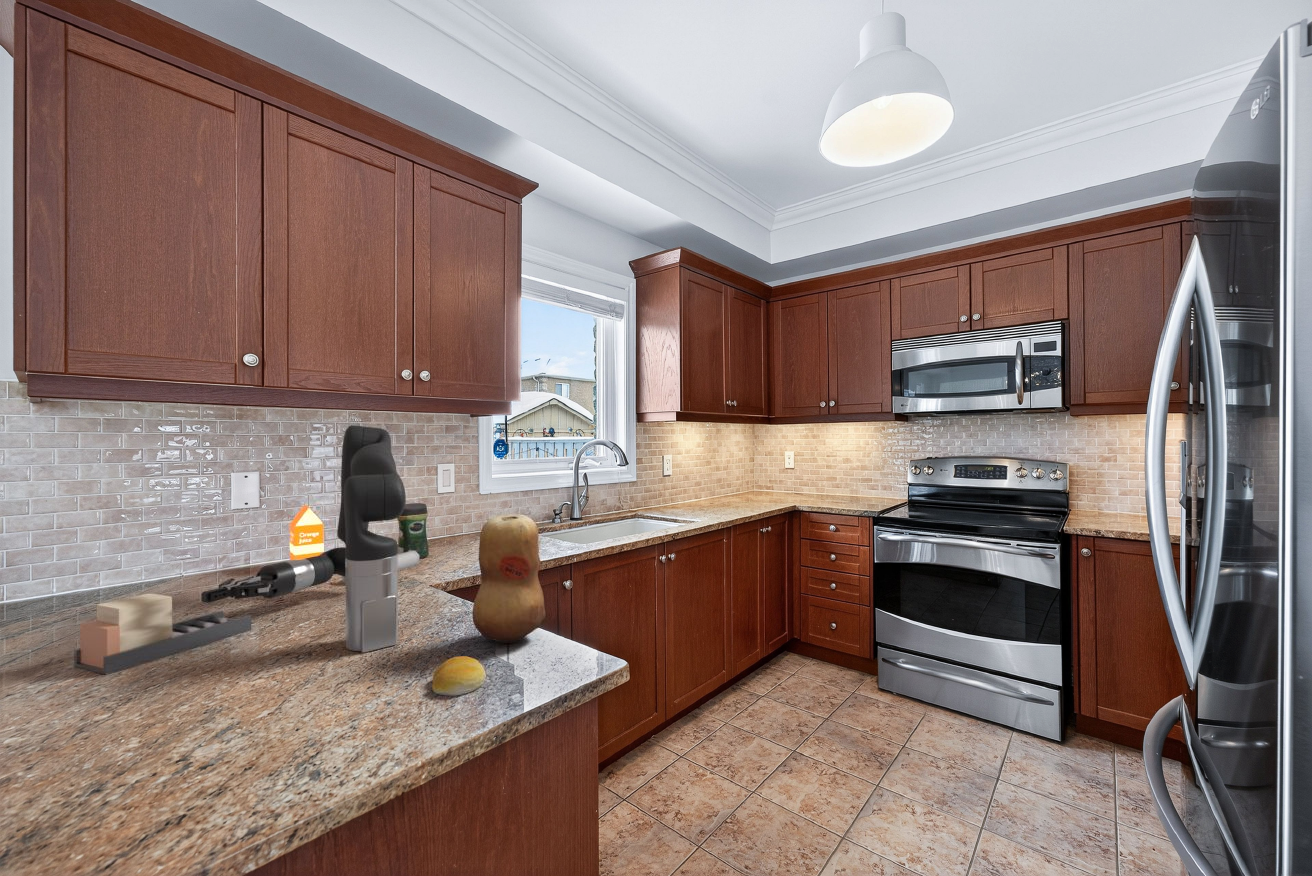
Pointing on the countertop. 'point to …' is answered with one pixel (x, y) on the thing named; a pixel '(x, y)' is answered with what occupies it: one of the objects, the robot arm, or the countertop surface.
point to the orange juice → (306, 535)
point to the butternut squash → (509, 579)
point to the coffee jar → (413, 529)
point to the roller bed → (172, 642)
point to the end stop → (98, 642)
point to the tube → (404, 561)
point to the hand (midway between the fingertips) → (203, 597)
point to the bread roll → (458, 676)
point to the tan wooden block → (139, 619)
